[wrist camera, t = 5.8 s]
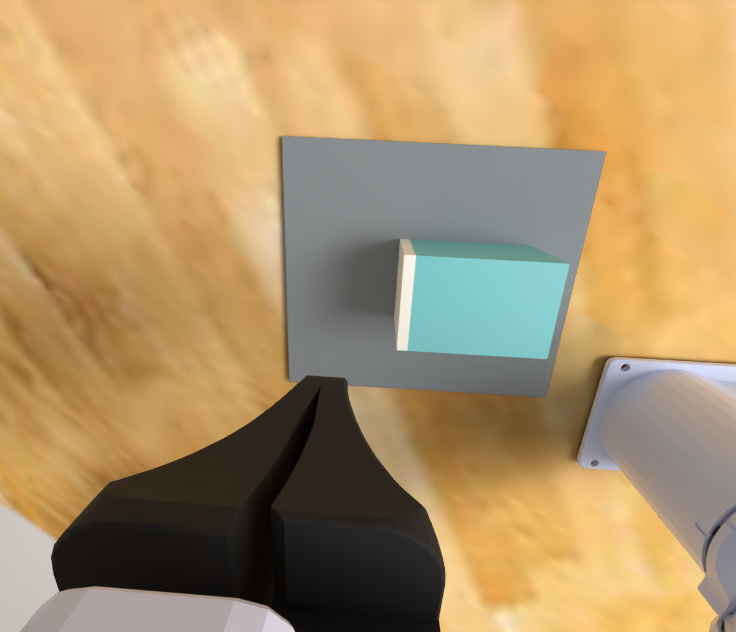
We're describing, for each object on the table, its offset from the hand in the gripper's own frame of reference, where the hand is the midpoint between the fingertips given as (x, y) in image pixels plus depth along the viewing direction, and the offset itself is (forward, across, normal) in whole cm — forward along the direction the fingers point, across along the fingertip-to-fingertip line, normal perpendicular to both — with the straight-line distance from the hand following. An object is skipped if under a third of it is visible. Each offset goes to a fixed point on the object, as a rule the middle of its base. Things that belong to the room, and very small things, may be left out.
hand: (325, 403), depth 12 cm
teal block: (+8, -2, -2) cm, 8 cm away
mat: (+10, -4, -2) cm, 11 cm away
